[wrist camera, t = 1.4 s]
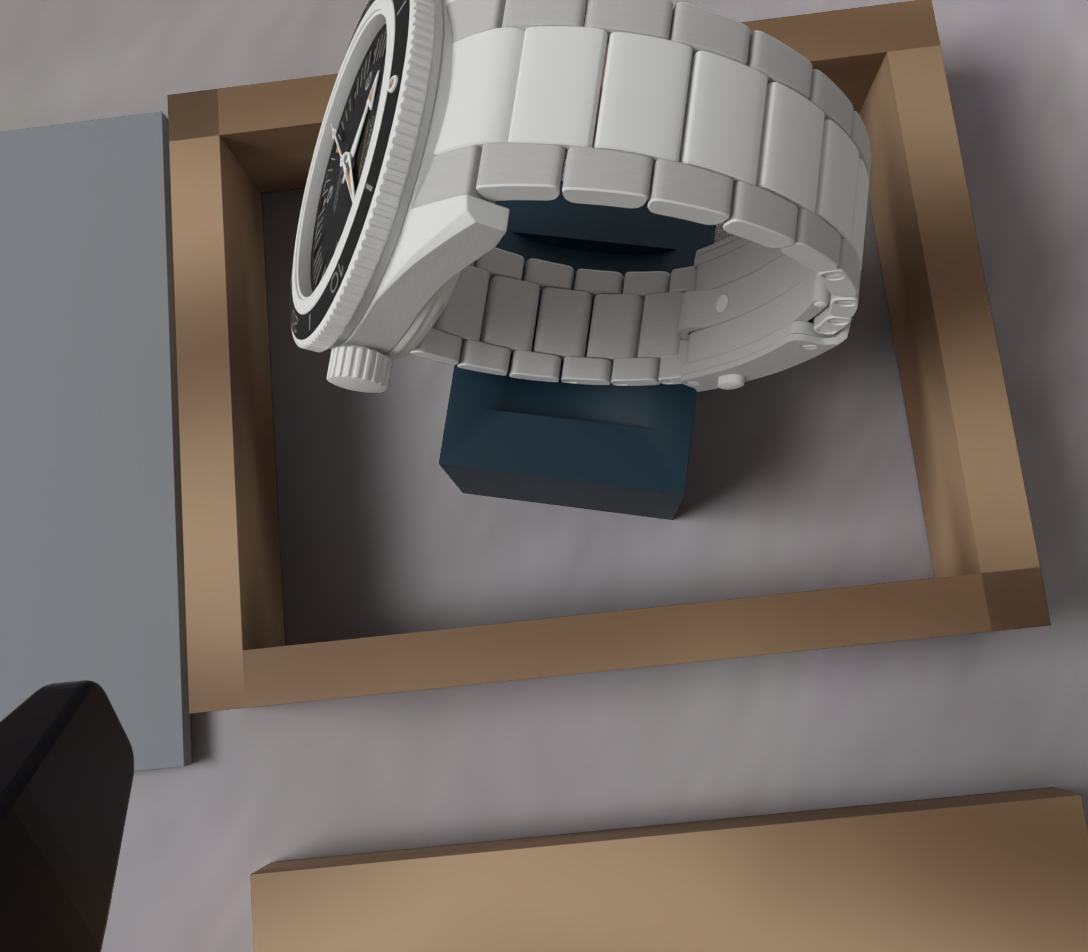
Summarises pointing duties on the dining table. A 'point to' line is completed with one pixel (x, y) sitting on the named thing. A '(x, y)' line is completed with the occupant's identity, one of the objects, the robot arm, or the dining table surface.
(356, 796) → the dining table surface
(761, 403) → the dining table surface
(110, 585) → the felt mat
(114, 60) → the dining table surface
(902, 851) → the lid
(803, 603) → the wooden rectangular frame
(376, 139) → the watch
